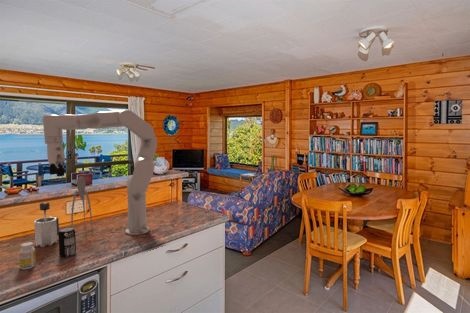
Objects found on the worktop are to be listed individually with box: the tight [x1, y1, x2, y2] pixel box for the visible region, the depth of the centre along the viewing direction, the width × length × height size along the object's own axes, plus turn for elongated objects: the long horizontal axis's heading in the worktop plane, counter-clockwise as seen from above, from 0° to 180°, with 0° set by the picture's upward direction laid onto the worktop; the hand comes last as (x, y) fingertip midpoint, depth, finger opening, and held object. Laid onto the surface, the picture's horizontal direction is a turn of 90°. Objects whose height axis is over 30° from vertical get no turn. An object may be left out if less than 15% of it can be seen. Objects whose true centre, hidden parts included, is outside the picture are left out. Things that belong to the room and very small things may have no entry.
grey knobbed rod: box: [39, 201, 51, 222], centre depth 143 cm, size 6×6×18 cm
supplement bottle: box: [18, 241, 37, 270], centre depth 119 cm, size 5×5×10 cm
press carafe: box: [33, 216, 60, 248], centre depth 144 cm, size 12×9×12 cm
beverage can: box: [57, 226, 77, 258], centre depth 130 cm, size 7×7×12 cm
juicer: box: [70, 176, 93, 230], centre depth 165 cm, size 10×9×30 cm
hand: (57, 175), depth 143 cm, fingers open, 9 cm apart
